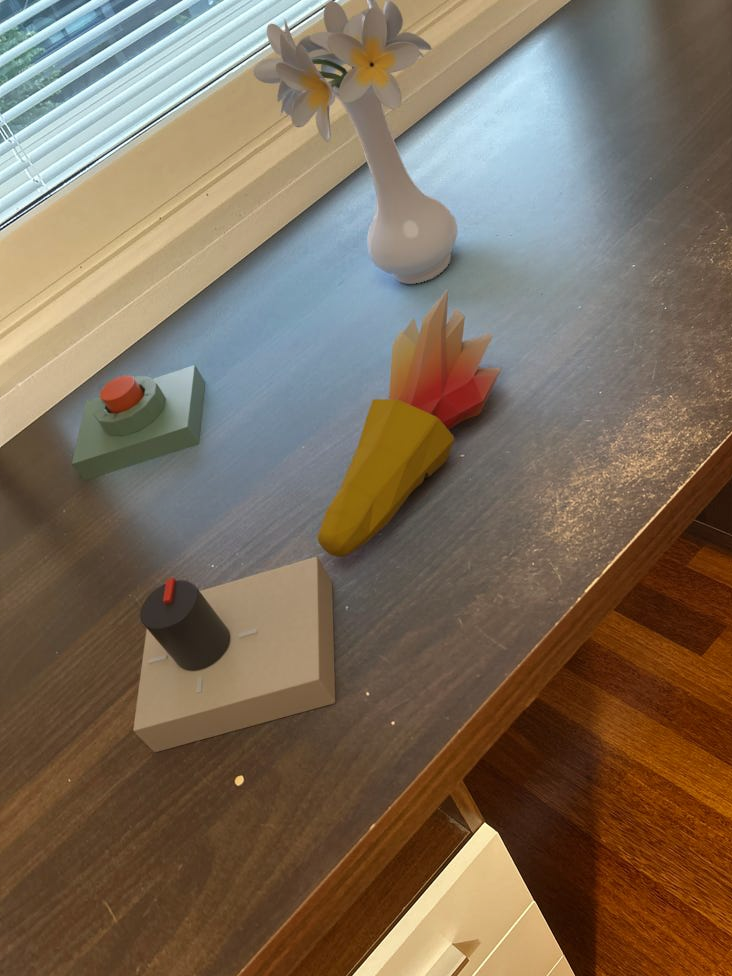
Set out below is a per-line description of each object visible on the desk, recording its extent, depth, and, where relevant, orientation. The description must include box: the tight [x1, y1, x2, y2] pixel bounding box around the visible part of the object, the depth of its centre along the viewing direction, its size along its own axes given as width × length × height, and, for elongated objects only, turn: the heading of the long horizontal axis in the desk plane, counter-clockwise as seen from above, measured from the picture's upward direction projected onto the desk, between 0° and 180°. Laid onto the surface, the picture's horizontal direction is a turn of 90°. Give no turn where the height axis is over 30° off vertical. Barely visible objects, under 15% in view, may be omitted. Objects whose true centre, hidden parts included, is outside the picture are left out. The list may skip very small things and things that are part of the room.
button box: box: [71, 364, 206, 481], centre depth 99 cm, size 12×10×4 cm
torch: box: [317, 288, 503, 558], centre depth 82 cm, size 8×8×25 cm
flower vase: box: [252, 0, 459, 285], centre depth 95 cm, size 13×18×25 cm
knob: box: [139, 577, 230, 671], centre depth 73 cm, size 4×4×5 cm
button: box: [99, 374, 144, 414], centre depth 97 cm, size 4×4×2 cm
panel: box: [132, 556, 336, 753], centre depth 75 cm, size 14×12×3 cm
